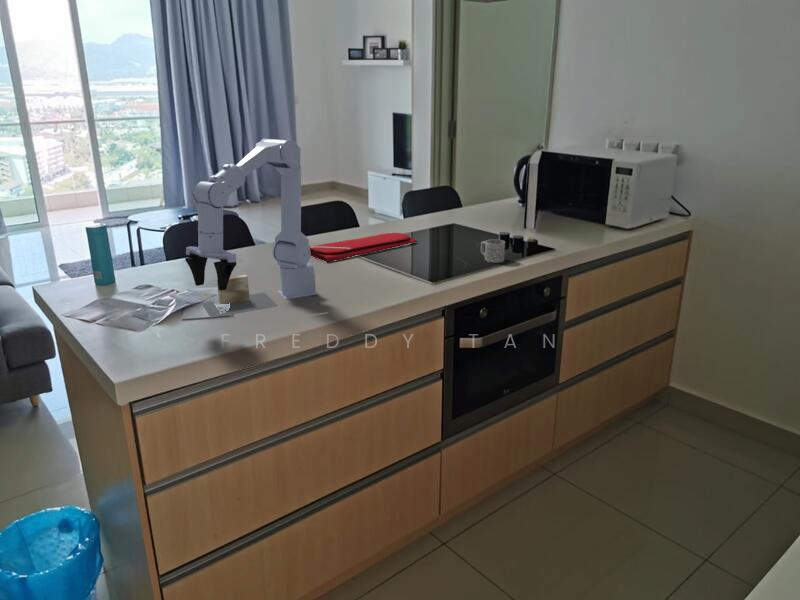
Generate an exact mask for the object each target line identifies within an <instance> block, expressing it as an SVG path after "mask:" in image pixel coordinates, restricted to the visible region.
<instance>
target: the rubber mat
mask: <svg viewBox="0 0 800 600" xmlns="http://www.w3.org/2000/svg"><path fill="white" fill-rule="evenodd" d="M249 297H250V300H247V301H241V302H235V303H230V308H229V310H228V311H226V310H225V311H226V313H223V311H221V312H222V314H220V313H219V310H218V309H217V308H216V306H215V305H214V302H213V301H214V300H211V301H205V303H203V302H201V303H202V304H201V306H202V307H203V309H204V310H205V311H206V312H207V315H208V316H209V317H210V318H211V319H212V318H219V317H224V316H225V317H226V316H228V315H235V314H241V313H242V314H243V313H246V312H252V311H253V312H254V311H258V310H263V309H269V308H274V307H278V306H279V305H278V304H277V303H275V301H274V300H273V299H272V298H271V297H269V296H268V294H266V292H259V293H253V294H249Z"/></svg>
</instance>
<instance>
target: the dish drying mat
mask: <svg viewBox="0 0 800 600" xmlns="http://www.w3.org/2000/svg"><path fill="white" fill-rule="evenodd" d="M412 242H417V243H418V241H417V239H415V238H412V237H410V235H408V234H407V233H406V234H405V233H401V232H390V233H388V232H387V233H380V234H376V235H375V234H374V235H370V236H366V237H359V238H354V239H347V240H342V241H341V240H340V241H335V242H327V243H322V244H316V245H309V248H310V251H311V256H313V257H315V258H314V259H316V258H318V259H321V260H324V261H326V262H328V263H332V262H331V261H333V262H335V261H334V260H339V261H341V260H340V259H344V258H347V257H352V256H355V255H358V254H364V253H370V252H374V251H379V250H383V249H387V248H392V247H396V246H400V245H404V244H408V243H412ZM311 256H310V257H311ZM313 257H312V258H313ZM318 259H317V260H318ZM321 260H320V261H321ZM344 260H345V259H344ZM324 261H323V262H324ZM326 262H325V263H326Z"/></svg>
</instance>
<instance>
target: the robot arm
mask: <svg viewBox="0 0 800 600" xmlns="http://www.w3.org/2000/svg"><path fill="white" fill-rule="evenodd" d="M265 164H266V165H269V166H271V167H272V168H274V170H276V171H277V172H278V173H279V174H280V206H281V207H280V212H281V213H280V218H281V219H280V220H281V222H280V223H281V224H280V226H281V227H280V229H281V230H280V232H279V233H277V235H275V236H274V245H273V247H272V256H273V259H274V260H275V261H276V262H277V266H278V265H279V270H280V271H279V274H280V285H281V289H279V290H277V293H278V294H279V295H280V296H281V297H282V298H283V299H284V300H291V299H292V300H293V299H297V298H303V297H308V296H309V297H312V296H316V295H317V294H318V293H317V289H316V287H317V286H316V275H315V274H316V273H315V268H314V266H313V264H312V263H311V262H309V261H310V259H311V251H310V248H309V246H310V244H309V241H310V240H309V238H308V237H307V235H306V234H304V233H303V232H302V164H301V147H300V146H299V145H298V144H297V142H295V141H294V140H293V139H273V138H267V137H265V138H262V139H261V140H260V141H258V142H257V143H255V148H253V149H252V150H251V151H249V153H247V154H246V155H245V156H244V157H243V158H242V159H241V160H240V161H239V162H238V163H236V164H234V163H228V164H227V163H225V164H224V165H223V166H222V169H221V170H219V171H218V172H217V173H215V174H214V175H211V176H209V178H208V180H207V181H205V180H203V181H200V182H198V183H197V184H196V185H195V187H194V189H193V192H191V197H192V199H193V202H194V203H195V205H196V206H195V208H196V210H197V231H198V232H197V233H198V234H197V236H198V238H197V239H198V241H197V242H198V243H197V244H198V246H186V247H185V255H186V257H185V258H184V259H185V262H186V263H187V265H188V267H189V269H190V270H191V271H190V272H191V275H192V277H193V280H194V281H193V282H194V284H195V286H196V287H198V286H204V284H205V279H206V278H205V274H206V266H207V262H208V259H212V260H217V261H214V262H213V265H214V268H215V271H216V277H217V278H216V279H218V286H217V290H218V289H219V290H220V291H222V290H226V289H227V285H228V282H229V278H230V277H232V276H231V275H232V273H233V271H234V269H235V267H236V266H237V253H234V252H230V251H226V250H224V206H226V205H227V204H228V201H229V198H230V196H231V195H232V194H233V193H234V192H235V191H237V189H239V188H240V187H241V186H243V185H244V184H245V182H246V176H248V175H249V174H251V173H252V172H254V171H255V170H256V169H258V168H259V167H261V166H262V165H265ZM187 255H188V257H187Z"/></svg>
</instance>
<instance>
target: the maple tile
mask: <svg viewBox="0 0 800 600" xmlns="http://www.w3.org/2000/svg"><path fill="white" fill-rule="evenodd" d="M248 279H249V277H248V275H247V274H240V275H233V276H230V278H229V282H228V285H227V289H226V290H222V291H220V290H219V289H218V288H217V293H218V300H219V303H220V304H229V303H235V302H241V301H247V300H250V297H249V295H250V288H249V280H248ZM216 285H217V287H218V278H216Z"/></svg>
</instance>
